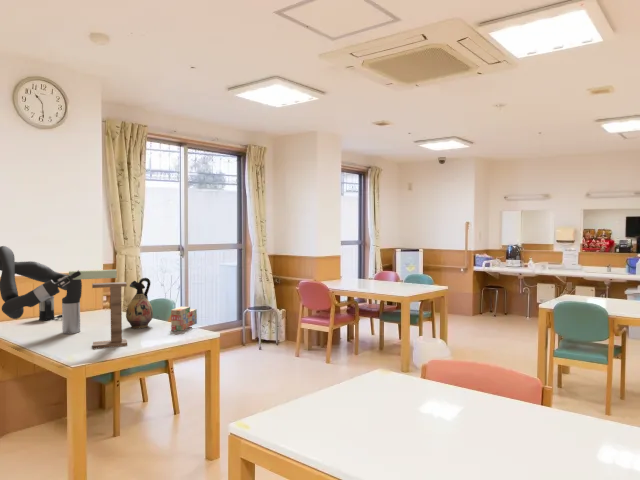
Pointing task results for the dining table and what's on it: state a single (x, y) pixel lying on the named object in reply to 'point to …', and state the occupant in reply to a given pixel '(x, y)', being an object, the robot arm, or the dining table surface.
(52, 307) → the milk frother
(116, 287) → the walnut stand
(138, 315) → the ceramic jug
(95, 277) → the sage batten
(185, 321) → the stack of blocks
